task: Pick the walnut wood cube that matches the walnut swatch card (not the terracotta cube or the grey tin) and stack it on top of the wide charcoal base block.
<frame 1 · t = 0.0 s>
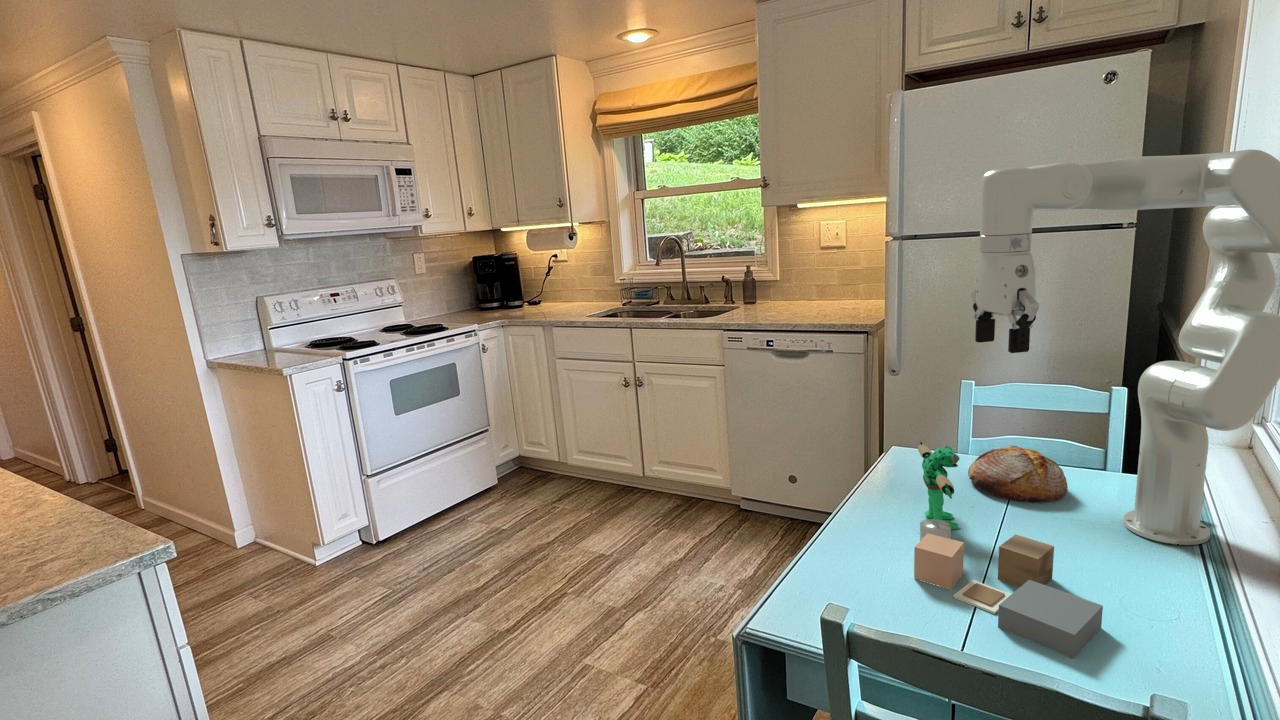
hand: (1000, 346, 114), 37 cm above the table, tool pointing down, fingers open, 9 cm apart
swatch card: (983, 597, 106), on the table
toy: (940, 522, 132), on the table
bread: (1015, 488, 145), on the table
walnut cube: (1024, 579, 111), on the table
terracotta cube: (938, 577, 113), on the table
grey tin: (934, 555, 120), on the table
base block: (1048, 629, 98), on the table
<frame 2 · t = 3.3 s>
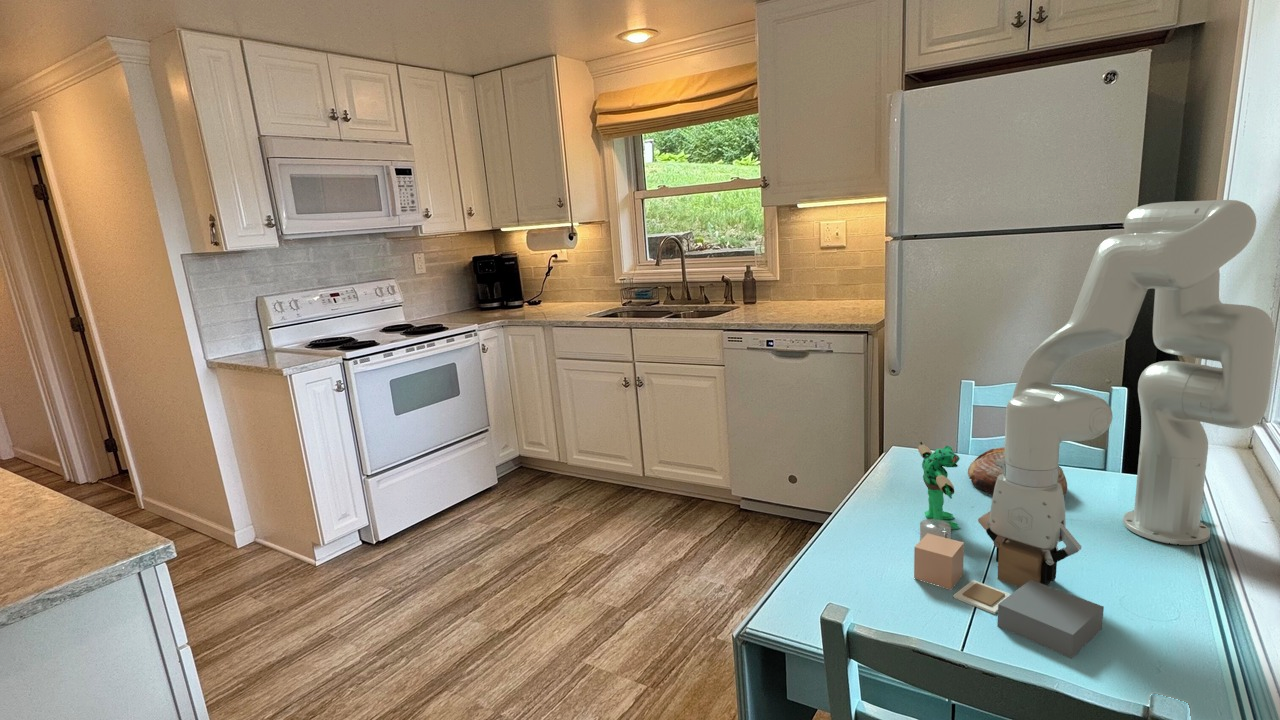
hand: (1024, 574, 111), 1 cm above the table, tool pointing down, fingers closed on walnut cube, 6 cm apart
walnut cube: (1024, 579, 111), on the table, touching gripper
everything else where it was.
when the fingers open (6 cm above the table, at t = 7.5 s): walnut cube drops 2 cm, resting on base block.
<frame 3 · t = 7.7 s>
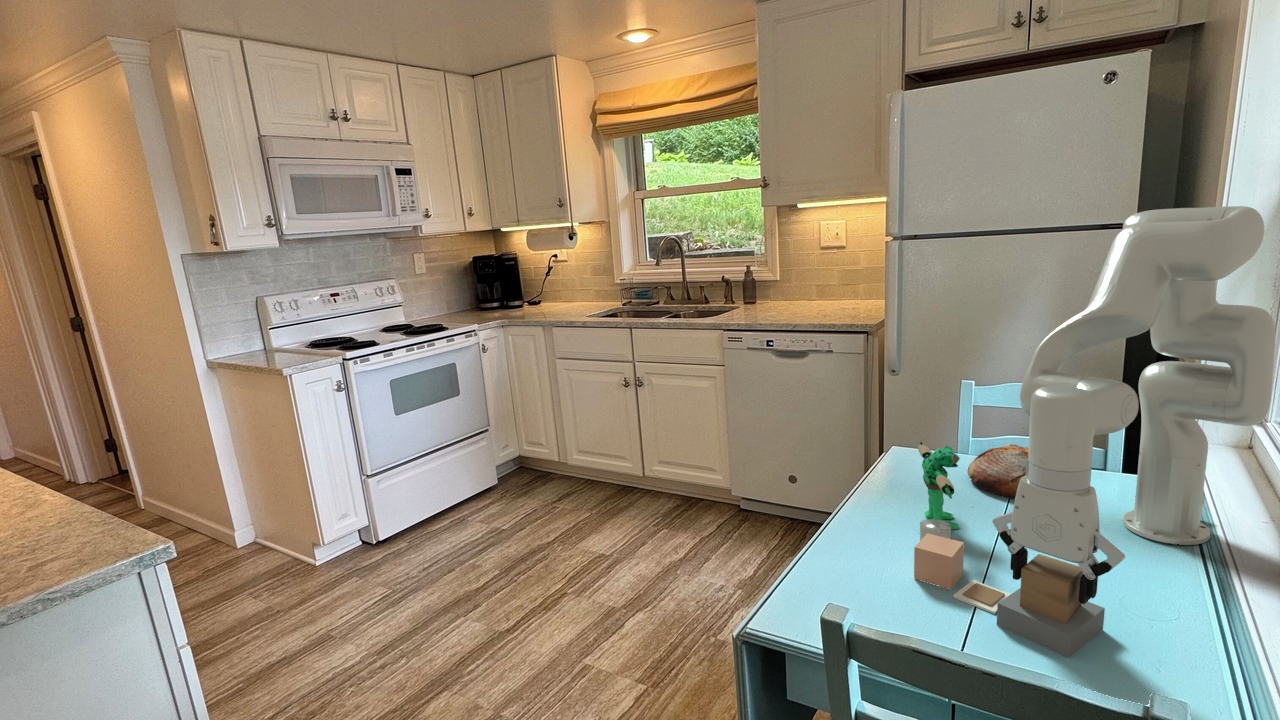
hand: (1051, 587, 97), 7 cm above the table, tool pointing down, fingers open, 8 cm apart
walnut cube: (1050, 605, 97), point 4 cm above the table, touching base block
base block: (1048, 629, 98), on the table, touching walnut cube
everything else where it was.
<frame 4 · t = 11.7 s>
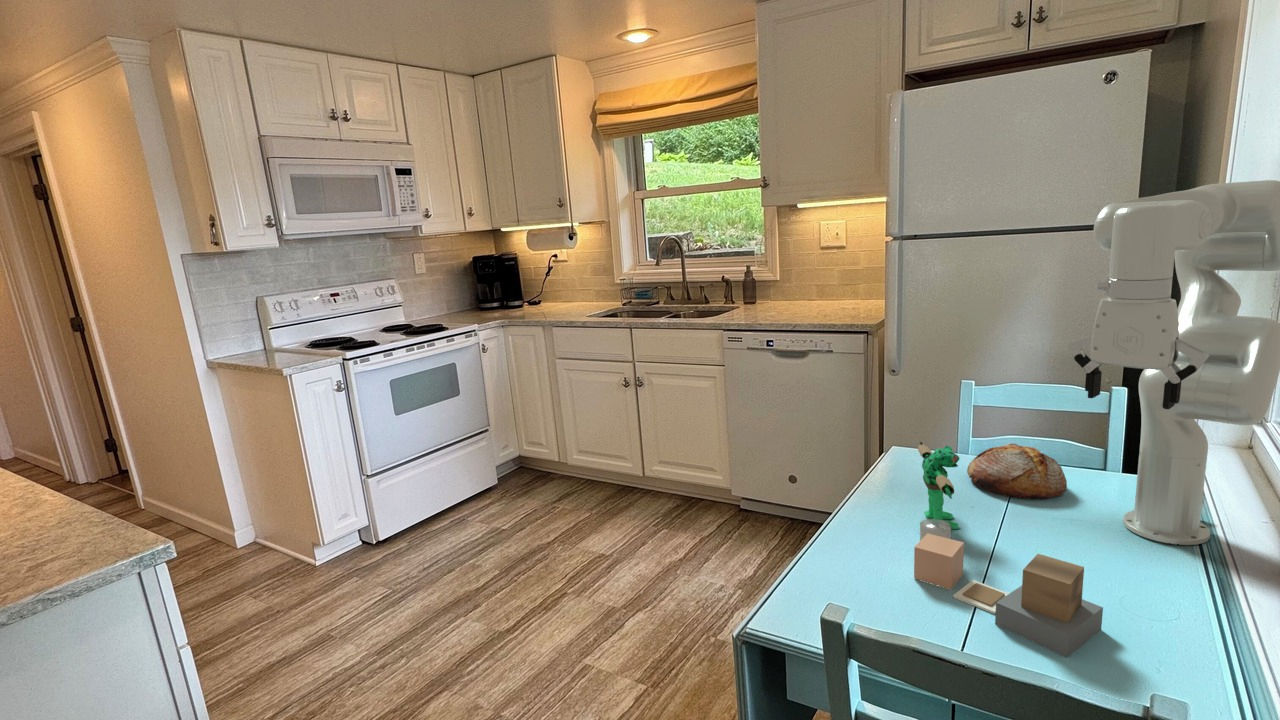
hand: (1129, 401, 102), 30 cm above the table, tool pointing down, fingers open, 9 cm apart
walnut cube: (1051, 605, 97), point 4 cm above the table
base block: (1047, 629, 98), on the table
at the end: walnut cube inside the target area on the base block (0.3 cm from its centre), point 4.0 cm above the base block's base; walnut cube tilted 0°; the gripper is holding nothing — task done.
